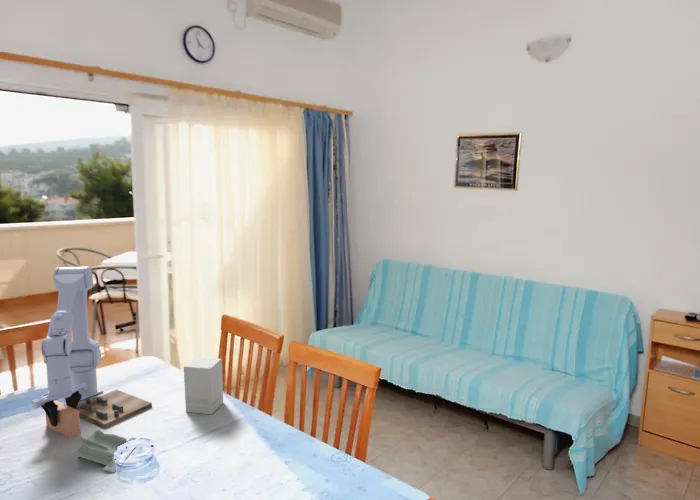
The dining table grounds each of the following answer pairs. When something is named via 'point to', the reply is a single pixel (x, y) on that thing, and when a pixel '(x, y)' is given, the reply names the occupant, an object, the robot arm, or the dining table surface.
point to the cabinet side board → (111, 408)
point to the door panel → (66, 420)
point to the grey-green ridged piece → (101, 449)
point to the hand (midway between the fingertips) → (62, 421)
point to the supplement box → (203, 385)
